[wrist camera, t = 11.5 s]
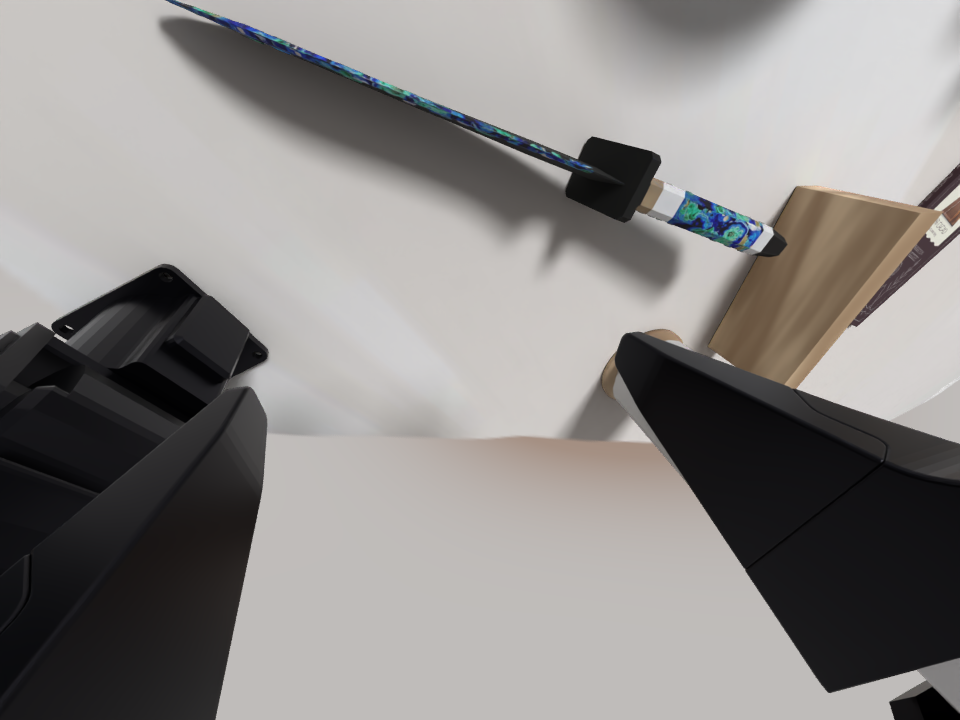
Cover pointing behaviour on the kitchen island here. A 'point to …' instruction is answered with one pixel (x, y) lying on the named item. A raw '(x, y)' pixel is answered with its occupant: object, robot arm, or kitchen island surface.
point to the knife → (576, 165)
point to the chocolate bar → (924, 241)
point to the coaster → (611, 369)
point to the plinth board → (816, 280)
